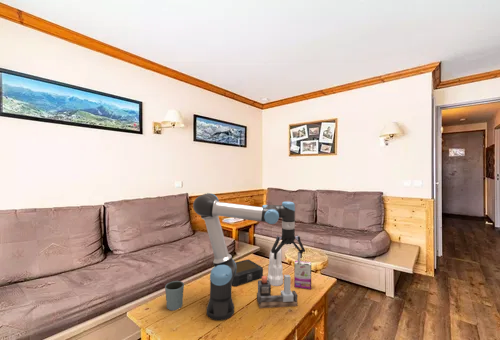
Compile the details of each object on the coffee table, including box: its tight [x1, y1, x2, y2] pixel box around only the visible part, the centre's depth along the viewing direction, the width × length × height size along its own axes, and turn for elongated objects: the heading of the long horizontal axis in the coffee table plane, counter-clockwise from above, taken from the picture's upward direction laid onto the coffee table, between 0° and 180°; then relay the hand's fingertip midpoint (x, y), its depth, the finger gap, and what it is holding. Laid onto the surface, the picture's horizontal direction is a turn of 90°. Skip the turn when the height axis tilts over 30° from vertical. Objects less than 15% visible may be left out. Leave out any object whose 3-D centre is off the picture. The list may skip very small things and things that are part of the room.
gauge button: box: [261, 275, 268, 284], centre depth 145 cm, size 3×3×4 cm
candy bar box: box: [293, 260, 312, 290], centre depth 156 cm, size 11×5×16 cm, turn 76°
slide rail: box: [256, 290, 298, 309], centre depth 137 cm, size 23×8×6 cm, turn 98°
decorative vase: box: [266, 246, 284, 287], centre depth 162 cm, size 11×11×25 cm
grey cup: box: [164, 280, 185, 311], centre depth 132 cm, size 10×10×12 cm
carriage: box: [280, 274, 294, 302], centre depth 137 cm, size 6×6×14 cm
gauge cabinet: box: [257, 279, 272, 296], centre depth 145 cm, size 7×6×8 cm
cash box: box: [232, 259, 264, 287], centre depth 169 cm, size 25×20×8 cm
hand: (287, 264), depth 137 cm, fingers open, 13 cm apart
